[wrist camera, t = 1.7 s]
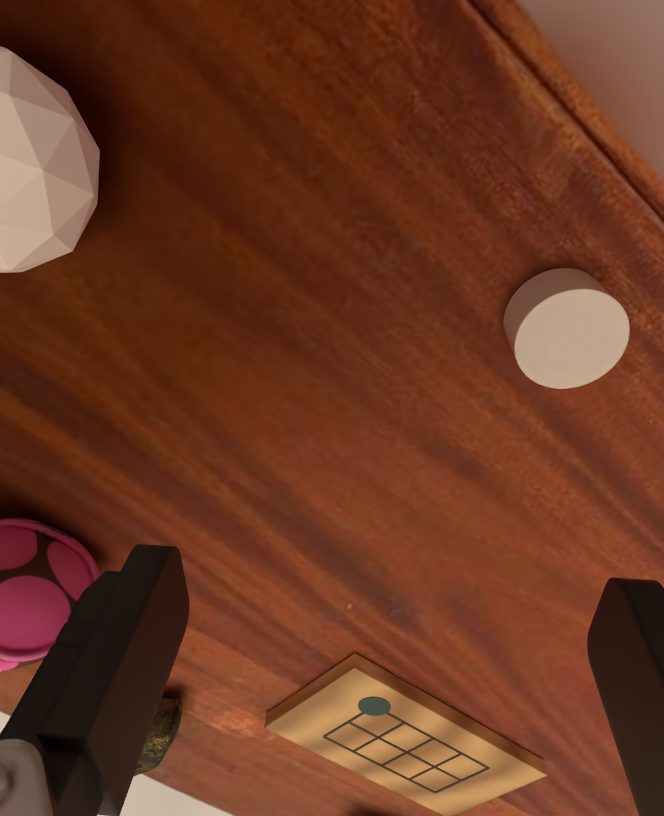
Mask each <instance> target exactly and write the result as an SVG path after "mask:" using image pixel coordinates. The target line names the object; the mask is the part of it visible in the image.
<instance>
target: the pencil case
mask: <svg viewBox="0 0 664 816" xmlns="http://www.w3.org/2000/svg"><path fill="white" fill-rule="evenodd" d="M98 577H100V576H99V571H98V568H97V565H96V563H95V561H94V559H93V558H92V556H91V555H90V554H89V552H88V551H87V550H86V549H85V548H84V547H83V546H82V545H81V544H80V543H79V542H78V541H77V540H75V539H74V538H73V537H72V536H70V535H69V534H67V533H65V532H63V531H61V530H59V529H56V528H54V527H51V526H49V525H46V524H43V523H40V522H37V521H33V520H30V519H25V518H17V517H5V518H0V671H4V670H9V669H14V668H19V667H23V666H27V665H30V664H33V663H36V662H39V661H41V660H43V659H44V658H45V656H46V655H47V653H48V651H49V649H50V648H51V646H52V644H55V642H56V637H57V636H58V634H59V632H60V630H61V629H62V627H63V625H64V623H67V621H68V616H69V615H70V613H71V611H72V610H73V608H74V606H75V604H76V603H77V601H78V599H79V597H80V596H81V594H82V592H83V591H84V590H85V589H86V588H87V587H89V586H90V585H91V584H92V583H93V582H94V581H95V580H96V579H97V578H98Z"/></svg>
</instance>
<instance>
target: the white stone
mask: <svg viewBox="0 0 664 816" xmlns="http://www.w3.org/2000/svg"><path fill="white" fill-rule="evenodd" d="M629 331H630V330H629V321H628V317H627V314H626V312H625V310H624V309H623V307H622V306H621V304H620V303H619V302H618V301H617V300H616V299H615V298H614V297H613V296H612V295H611V294H610V293H609V292H608V291H607V290H606V288H605V287H604V286H603V285H602V284H601V283H600V282H599V281H598V280H597V279H596V278H594V277H593V276H592V275H590V274H588V273H586V272H584V271H581V270H577V269H571V268H559V269H553V270H549V271H545V272H543V273H540V274H538V275H536V276H534V277H532V278H531V279H529V280H528V281H526V282H525V283H524V284H523V285H522V286H521V287H520V288H519V289H518V290H517V291H516V292H515V293H514V295H513V296H512V298H511V299H510V301H509V303H508V305H507V308H506V311H505V314H504V332H505V335H506V338H507V341H508V343H509V345H510V347H511V350H512V352H513V354H514V356H515V359H516V361H517V363H518V365H519V367H520V369H521V370H522V371H523V373H524V374H525V375H526V376H527V377H528V378H530V379H531V380H532V381H534V382H536V383H538V384H540V385H543V386H546V387H550V388H557V389H566V388H574V387H579V386H582V385H585V384H588V383H590V382H592V381H594V380H596V379H598V378H600V377H601V376H603V375H604V374H605V373H607V372H608V371H609V370H610V369H611V368H612V367H613V366H614V365H615V364H616V363H617V362H618V360H619V359H620V358H621V356H622V354H623V352H624V351H625V348H626V346H627V343H628V339H629Z"/></svg>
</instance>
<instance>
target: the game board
mask: <svg viewBox="0 0 664 816" xmlns="http://www.w3.org/2000/svg"><path fill="white" fill-rule="evenodd" d="M264 728H265V729H268V730H270V731H272V732H274V733H276V734H278V735H280V736H282V737H284V738H286V739H288V740H290V741H292V742H294V743H296V744H298V745H300V746H302V747H304V748H306V749H308V750H310V751H312V752H315V753H317V754H319V755H321V756H323V757H325V758H327V759H329V760H331V761H333V762H335V763H337V764H339V765H341V766H343V767H345V768H347V769H349V770H351V771H353V772H355V773H357V774H359V775H362V776H364V777H366V778H368V779H370V780H372V781H374V782H376V783H378V784H380V785H382V786H384V787H386V788H388V789H390V790H392V791H394V792H396V793H398V794H400V795H402V796H404V797H406V798H409V799H411V800H413V801H415V802H417V803H419V804H421V805H423V806H425V807H427V808H429V809H431V810H433V811H435V812H437V813H439V814H441V815H443V816H453V815H456V814H458V813H460V812H463V811H465V810H467V809H470V808H472V807H474V806H477V805H479V804H481V803H484V802H486V801H489V800H491V799H493V798H496V797H498V796H500V795H503V794H505V793H507V792H510V791H512V790H514V789H517V788H519V787H521V786H524V785H526V784H528V783H531V782H533V781H535V780H538V779H540V778H542V777H545V776H547V773H546V769H545V764H544V760H542V759H541V758H539V757H537V756H535V755H534V754H532V753H530V752H528V751H527V750H525V749H523V748H521V747H520V746H518V745H516V744H514V743H513V742H511V741H509V740H507V739H506V738H504V737H502V736H500V735H498V734H497V733H495V732H493V731H491V730H490V729H488V728H486V727H484V726H483V725H481V724H479V723H477V722H476V721H474V720H472V719H470V718H469V717H467V716H465V715H463V714H462V713H460V712H458V711H456V710H455V709H453V708H451V707H449V706H447V705H446V704H444V703H442V702H440V701H439V700H437V699H435V698H433V697H432V696H430V695H428V694H426V693H425V692H423V691H421V690H419V689H418V688H416V687H414V686H412V685H411V684H409V683H407V682H405V681H403V680H402V679H400V678H398V677H396V676H395V675H393V674H391V673H389V672H388V671H386V670H384V669H382V668H381V667H379V666H377V665H375V664H374V663H372V662H370V661H368V660H367V659H365V658H363V657H361V656H360V655H358V654H356V653H354V654H353V655H351V656H350V657H349V658H347V659H346V660H344V661H343V662H341V663H340V664H338V665H337V666H335V667H334V668H332V669H331V670H329V671H328V672H326V673H325V674H324V675H322V676H321V677H319V678H318V679H316V680H315V681H313V682H312V683H310V684H309V685H307V686H306V687H304V688H303V689H302V690H300V691H299V692H297V693H296V694H294V695H293V696H291V697H290V698H288V699H287V700H285V701H284V702H282V703H281V704H280V705H278V706H277V707H275V708H274V709H272V710H271V711H269V712H268V713H267V714H266V720H265V726H264Z"/></svg>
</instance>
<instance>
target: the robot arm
mask: <svg viewBox="0 0 664 816" xmlns="http://www.w3.org/2000/svg"><path fill="white" fill-rule="evenodd" d="M188 616H189V596H188V591H187V586H186V581H185V576H184V571H183V566H182V561H181V556H180V552H179V549H178V548H177V547H172V546H157V545H142V544H138V545H136V546H135V547H134V548H133V549H132V551H131V553H130V555H129V557H128V558H127V560H126V562H125V564H124V566H123V568H122V570H121V572H117V571H105V572H104V573H103V574H102V575H101V576H100V577H98V578H97V579H96V580H95V581H94V582H93V583H92V584H91V585H90V586H89V587H87V588H86V589H85V590H84V591H83V592H82V594H81V596H80V597H79V599H78V601H77V603H76V604H75V606H74V608H73V610H72V611H71V613H70V615H69V616H68V621H67V623H64V625H63V627H62V629H61V630H60V632H59V634H58V636H57V637H56V642H55V644H52V646H51V648H50V649H49V651H48V653H47V655H46V656H45V658H44V660H43V662H42V663H41V665H40V667H39V669H38V670H37V672H36V674H35V676H34V677H33V679H32V681H31V683H30V684H29V686H28V688H27V689H26V691H25V693H24V695H23V696H22V698H21V700H20V702H19V703H18V705H17V707H16V709H15V710H14V712H13V714H12V716H11V717H10V719H9V721H8V722H7V724H6V726H5V728H4V729H3V730H2V732H1V733H0V816H97V815H98V814H99V815H108V816H119V815H120V812H121V809H122V807H123V804H124V801H125V798H126V796H127V793H128V790H129V787H130V784H131V781H132V779H133V776H134V773H135V770H136V768H137V765H138V762H139V759H140V756H141V754H142V751H143V748H144V745H145V742H146V740H147V737H148V734H149V731H150V729H151V726H152V723H153V720H154V717H155V715H156V712H157V709H158V706H159V703H160V701H161V698H162V695H163V692H164V689H165V687H166V684H167V681H168V678H169V675H170V673H171V670H172V667H173V664H174V661H175V659H176V656H177V653H178V650H179V647H180V645H181V642H182V639H183V636H184V633H185V630H186V627H187V622H188ZM587 646H588V656H589V662H590V665H591V669H592V672H593V675H594V678H595V681H596V684H597V687H598V690H599V693H600V696H601V699H602V702H603V706H604V709H605V712H606V715H607V718H608V721H609V724H610V727H611V730H612V733H613V736H614V739H615V742H616V745H617V748H618V751H619V755H620V758H621V761H622V764H623V767H624V770H625V773H626V776H627V779H628V782H629V785H630V788H631V791H632V794H633V797H634V800H635V803H636V807H637V810H638V813H639V816H664V588H663V587H662V585H661V584H660V583H659V582H657V581H654V580H640V579H625V578H610V579H609V580H608V581H607V583H606V586H605V588H604V591H603V594H602V596H601V599H600V602H599V604H598V607H597V610H596V612H595V615H594V618H593V620H592V623H591V626H590V628H589V632H588V641H587Z"/></svg>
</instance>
